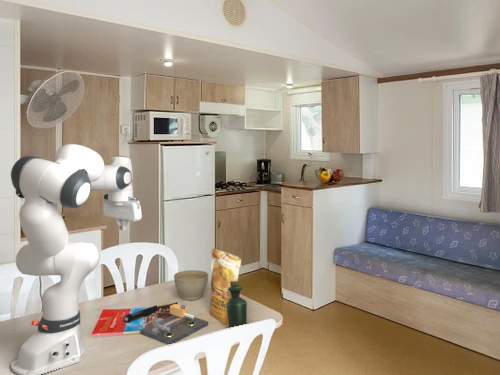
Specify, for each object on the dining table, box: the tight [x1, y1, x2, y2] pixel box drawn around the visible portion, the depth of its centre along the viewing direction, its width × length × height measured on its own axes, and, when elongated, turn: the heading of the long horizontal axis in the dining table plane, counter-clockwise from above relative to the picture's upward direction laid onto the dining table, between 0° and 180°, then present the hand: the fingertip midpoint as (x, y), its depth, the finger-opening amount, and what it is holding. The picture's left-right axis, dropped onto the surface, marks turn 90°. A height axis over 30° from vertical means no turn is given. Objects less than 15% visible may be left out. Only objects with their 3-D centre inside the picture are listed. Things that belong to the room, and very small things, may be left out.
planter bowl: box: [173, 269, 209, 301], centre depth 195 cm, size 16×16×11 cm
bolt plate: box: [139, 312, 209, 346], centre depth 161 cm, size 21×16×6 cm
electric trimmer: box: [123, 305, 158, 324], centre depth 173 cm, size 4×16×3 cm, turn 139°
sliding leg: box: [169, 303, 195, 322], centre depth 166 cm, size 3×12×5 cm, turn 55°
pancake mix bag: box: [209, 248, 242, 325], centre depth 171 cm, size 7×19×28 cm, turn 37°
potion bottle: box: [226, 280, 248, 329], centre depth 161 cm, size 8×8×18 cm
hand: (122, 229), depth 168 cm, fingers closed
